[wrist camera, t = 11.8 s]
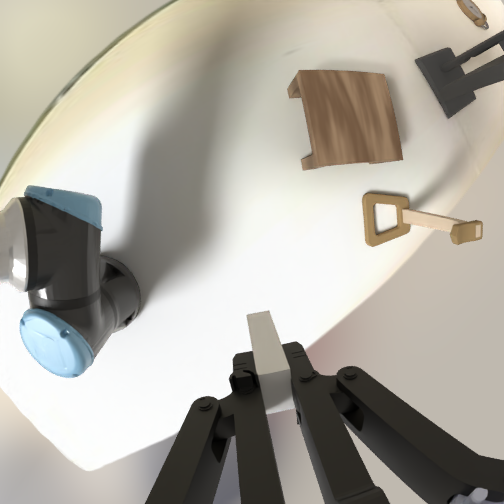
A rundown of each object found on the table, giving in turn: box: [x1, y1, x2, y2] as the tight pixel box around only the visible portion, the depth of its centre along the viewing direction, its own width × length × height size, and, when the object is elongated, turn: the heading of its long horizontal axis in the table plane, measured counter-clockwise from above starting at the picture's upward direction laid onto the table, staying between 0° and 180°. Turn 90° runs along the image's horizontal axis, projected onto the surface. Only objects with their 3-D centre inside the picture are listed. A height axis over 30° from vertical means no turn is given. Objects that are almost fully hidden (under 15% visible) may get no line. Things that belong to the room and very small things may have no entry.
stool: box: [287, 70, 403, 170], centre depth 42 cm, size 9×16×16 cm
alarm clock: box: [457, 0, 489, 29], centre depth 38 cm, size 11×5×15 cm
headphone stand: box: [362, 193, 483, 247], centre depth 40 cm, size 10×11×22 cm
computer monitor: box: [415, 30, 504, 119], centre depth 26 cm, size 44×16×40 cm, turn 125°
